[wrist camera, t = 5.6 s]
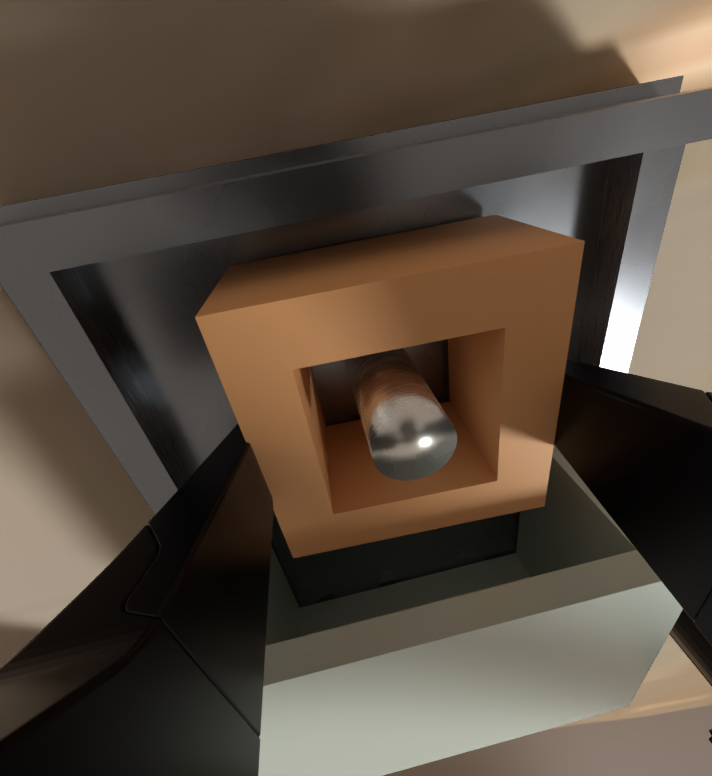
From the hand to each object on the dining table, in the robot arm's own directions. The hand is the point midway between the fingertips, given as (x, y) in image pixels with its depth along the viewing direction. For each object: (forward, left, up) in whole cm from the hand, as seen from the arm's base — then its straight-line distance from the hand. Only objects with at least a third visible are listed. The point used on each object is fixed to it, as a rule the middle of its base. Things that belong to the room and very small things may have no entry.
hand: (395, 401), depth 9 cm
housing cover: (-8, 0, -2) cm, 8 cm away
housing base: (-3, 0, -3) cm, 5 cm away
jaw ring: (0, 0, -2) cm, 2 cm away
